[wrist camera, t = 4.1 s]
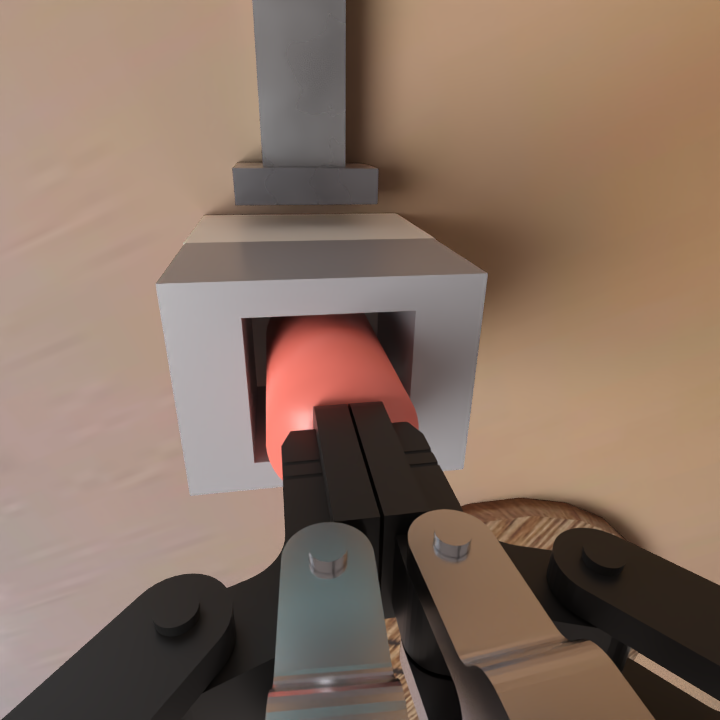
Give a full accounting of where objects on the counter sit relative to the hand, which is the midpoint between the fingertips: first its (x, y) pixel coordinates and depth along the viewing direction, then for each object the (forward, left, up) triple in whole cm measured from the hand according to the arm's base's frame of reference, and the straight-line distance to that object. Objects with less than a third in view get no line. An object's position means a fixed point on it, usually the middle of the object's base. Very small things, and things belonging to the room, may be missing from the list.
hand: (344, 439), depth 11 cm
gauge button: (0, 0, -6) cm, 6 cm away
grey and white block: (0, 0, -12) cm, 12 cm away
